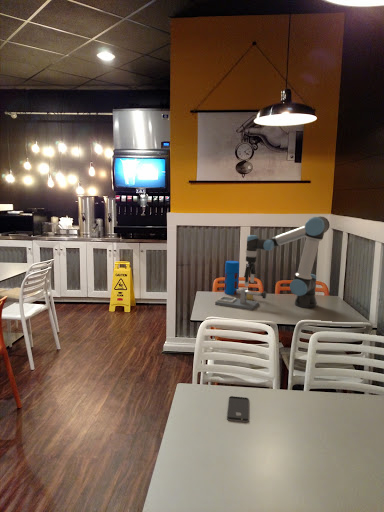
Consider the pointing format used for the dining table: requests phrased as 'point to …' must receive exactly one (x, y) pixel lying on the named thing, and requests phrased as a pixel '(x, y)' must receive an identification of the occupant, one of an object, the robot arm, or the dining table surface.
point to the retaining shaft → (254, 293)
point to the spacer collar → (249, 297)
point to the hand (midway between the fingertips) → (249, 284)
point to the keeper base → (237, 301)
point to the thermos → (231, 277)
